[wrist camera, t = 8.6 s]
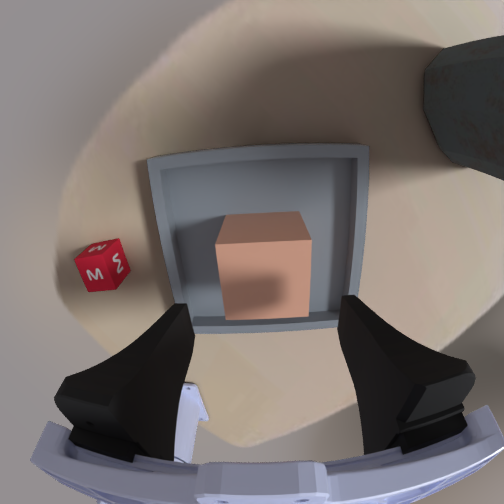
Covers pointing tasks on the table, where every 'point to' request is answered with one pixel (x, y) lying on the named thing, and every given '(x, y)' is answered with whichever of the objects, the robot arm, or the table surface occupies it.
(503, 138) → the bottle
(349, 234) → the tray
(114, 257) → the red letter cube
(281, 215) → the wooden cube
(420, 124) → the table surface
